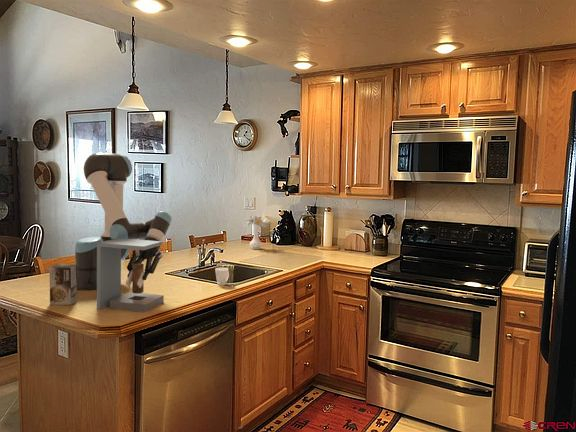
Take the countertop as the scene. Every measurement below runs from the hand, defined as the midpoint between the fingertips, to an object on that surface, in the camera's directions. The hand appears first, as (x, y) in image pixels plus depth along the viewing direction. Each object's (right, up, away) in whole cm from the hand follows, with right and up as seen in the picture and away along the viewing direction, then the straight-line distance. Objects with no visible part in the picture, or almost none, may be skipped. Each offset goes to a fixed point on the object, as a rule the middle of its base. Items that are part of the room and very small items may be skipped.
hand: (133, 285), depth 198 cm
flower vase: (+40, +4, +165) cm, 170 cm away
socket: (0, -9, +5) cm, 10 cm away
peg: (+1, -3, +4) cm, 5 cm away
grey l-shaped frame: (-2, -9, +2) cm, 9 cm away
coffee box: (-31, -8, +3) cm, 32 cm away
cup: (+31, -6, +49) cm, 58 cm away
